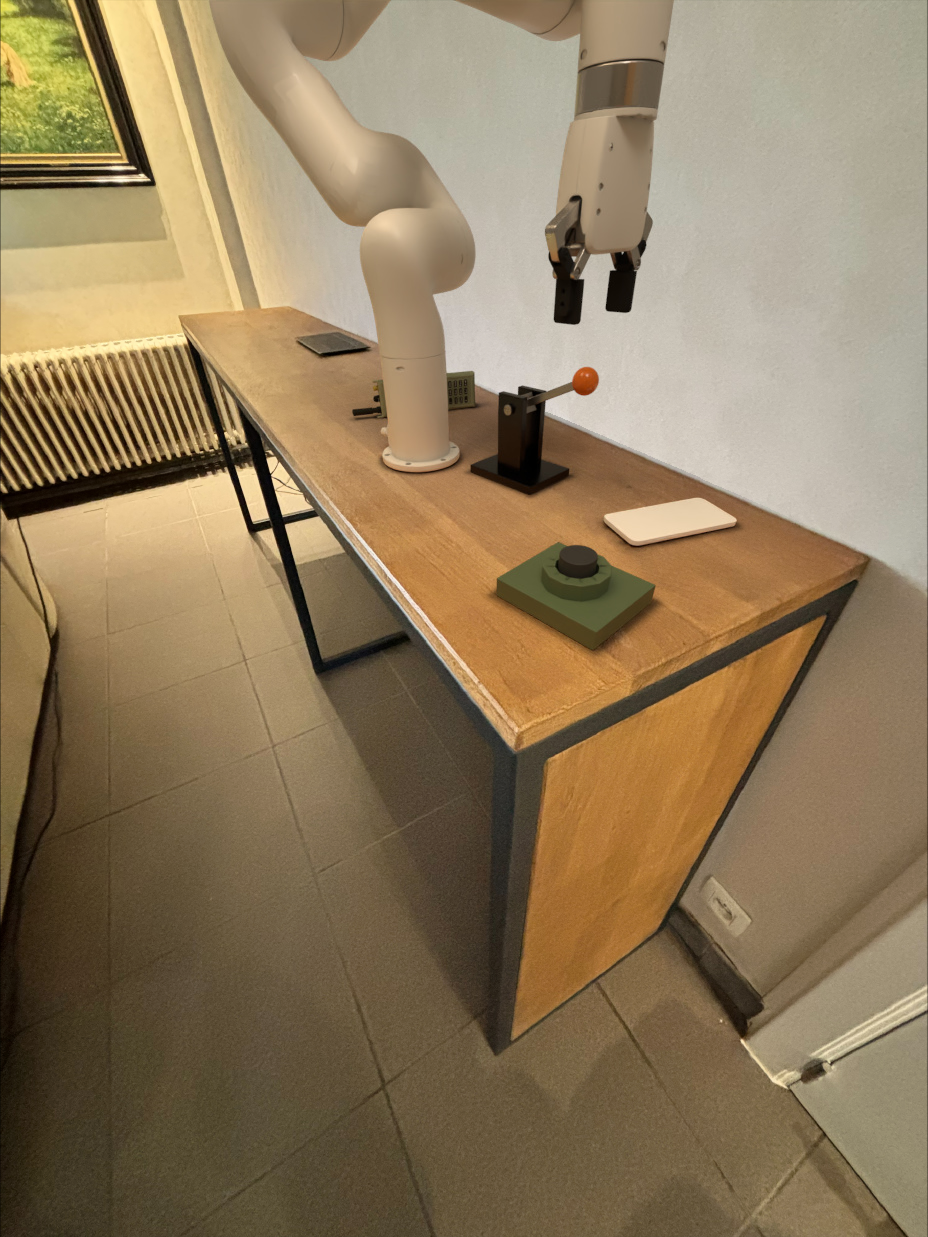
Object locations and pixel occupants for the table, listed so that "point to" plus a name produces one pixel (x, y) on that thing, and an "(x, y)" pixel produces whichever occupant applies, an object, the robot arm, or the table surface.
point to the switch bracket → (520, 446)
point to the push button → (577, 561)
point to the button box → (575, 596)
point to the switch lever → (568, 387)
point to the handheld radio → (457, 391)
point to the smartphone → (668, 521)
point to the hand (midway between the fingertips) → (593, 317)
